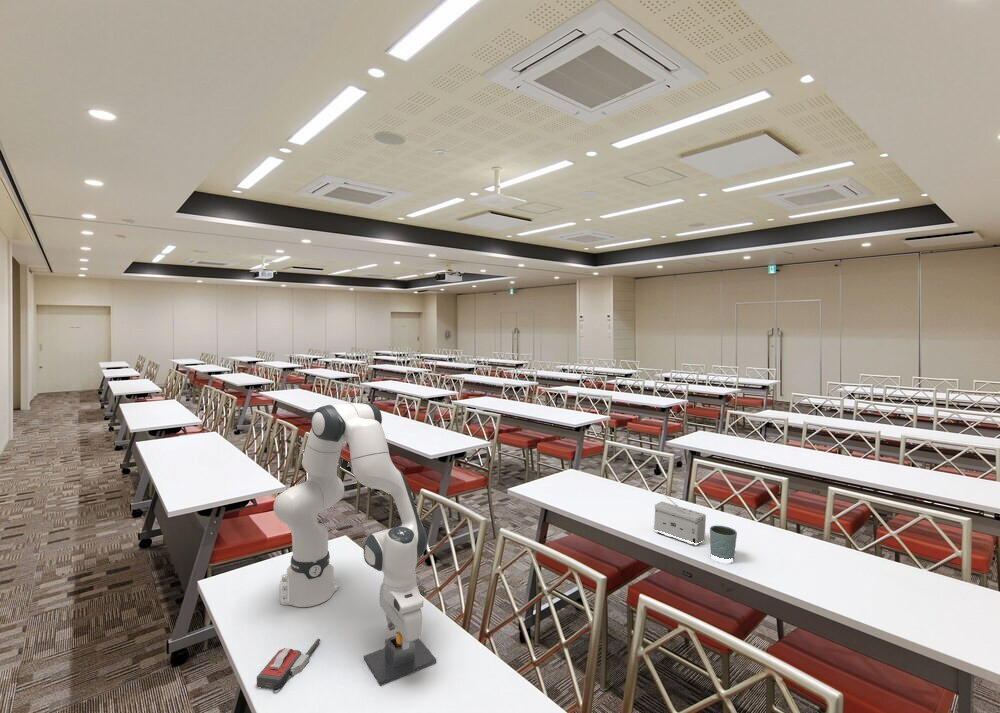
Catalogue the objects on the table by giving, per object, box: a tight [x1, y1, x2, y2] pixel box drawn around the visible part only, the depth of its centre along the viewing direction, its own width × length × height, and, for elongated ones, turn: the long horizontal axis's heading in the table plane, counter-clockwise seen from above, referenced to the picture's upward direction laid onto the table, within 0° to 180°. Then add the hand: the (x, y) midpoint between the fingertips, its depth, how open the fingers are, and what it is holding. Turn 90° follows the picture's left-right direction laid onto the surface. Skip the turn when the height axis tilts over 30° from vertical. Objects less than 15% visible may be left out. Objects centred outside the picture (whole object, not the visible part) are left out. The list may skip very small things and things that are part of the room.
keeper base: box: [363, 630, 437, 687], centre depth 136 cm, size 12×16×8 cm
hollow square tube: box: [384, 635, 415, 668], centre depth 136 cm, size 6×6×4 cm
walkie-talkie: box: [256, 638, 321, 691], centre depth 133 cm, size 9×4×20 cm
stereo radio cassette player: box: [653, 489, 707, 543], centre depth 221 cm, size 21×8×20 cm, turn 44°
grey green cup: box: [709, 525, 738, 559], centre depth 202 cm, size 10×10×12 cm
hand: (397, 638), depth 136 cm, fingers open, 8 cm apart
